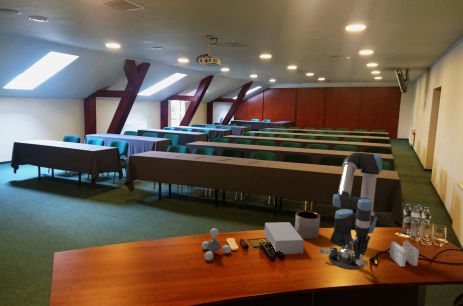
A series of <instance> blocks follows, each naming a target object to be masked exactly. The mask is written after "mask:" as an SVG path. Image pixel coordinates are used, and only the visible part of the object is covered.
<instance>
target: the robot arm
mask: <svg viewBox="0 0 463 306" xmlns="http://www.w3.org/2000/svg"><path fill="white" fill-rule="evenodd" d="M382 158H383V157H382V156H381V155H380V154H378V153H377V154H376V153H367V152H360V151H359V152H357V151H356V152H353V153H351V154H349V155H347V156H346V157H345V159H344V160H343V162H342V164H341V169H342V171H341V177H340V181H339V186H338V192H337V193H336V194H335V193H334V194H333V197H332V205H333V207H337V208H340V209H338V210H336V211H335V214H334V215H335V216H334V225H333V231H332V234H331V236H330V242H331V243H332V244H334V245H337V246H339V247H345V244H349V242H350V241H352V242H353V246H352V250H353V253H355V254H356V264H358V265H359V266H360V265H361V264H362V259H364V257H363V256H364V255H366V254H365V253H366V252H367V249H368V246H369V242H370V239H371V236H370V235H369V234H373V233H374V232H375V231H374V230H375V228H376V226H377V225H376V224H377V219H378V217H377V216H376V214H375V213H374V203H375V195H376V194H375V193H376V184H377V177H378V176H379V175H380V173H383V162H382ZM357 170H360V173H361V175H362V182H361V187H360V189H361V191H360V197H357V196H351V195H352V189H353V184H354V183H353V182H354V177H355V172H356V171H357ZM353 210H355V211H356V213H354V211H353ZM352 231H354V232H355V237H354V238H353V236H352ZM362 265H363V264H362Z"/></svg>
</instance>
